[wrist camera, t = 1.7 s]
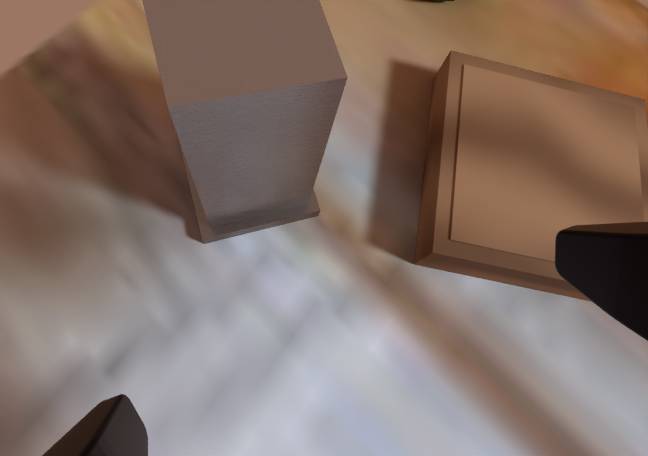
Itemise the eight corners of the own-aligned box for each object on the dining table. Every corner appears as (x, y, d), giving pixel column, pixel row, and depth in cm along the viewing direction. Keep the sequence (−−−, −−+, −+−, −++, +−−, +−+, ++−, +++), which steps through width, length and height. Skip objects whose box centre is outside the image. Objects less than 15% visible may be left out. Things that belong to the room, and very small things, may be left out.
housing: (318, 215, 22) (369, 89, 12) (203, 243, 21) (151, 128, 11) (287, 118, 24) (309, -68, 14) (178, 138, 23) (112, -51, 12)
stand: (622, 307, 23) (665, 300, 21) (414, 264, 22) (433, 252, 20) (611, 122, 27) (646, 98, 25) (433, 78, 26) (451, 49, 24)
